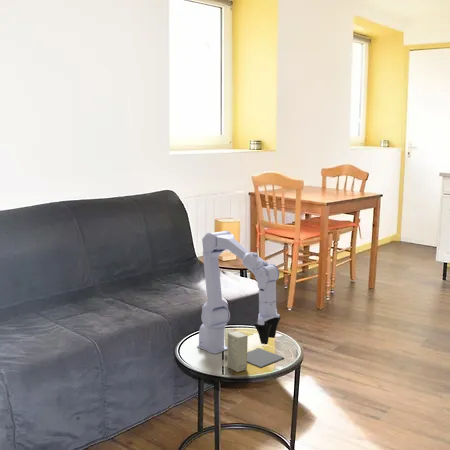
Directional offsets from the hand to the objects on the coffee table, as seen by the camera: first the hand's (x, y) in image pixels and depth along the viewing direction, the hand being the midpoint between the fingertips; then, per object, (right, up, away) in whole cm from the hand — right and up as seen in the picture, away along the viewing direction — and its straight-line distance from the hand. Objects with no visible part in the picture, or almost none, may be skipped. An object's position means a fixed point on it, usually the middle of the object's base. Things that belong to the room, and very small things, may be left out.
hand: (268, 340), depth 193 cm
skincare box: (-11, -10, +3) cm, 15 cm away
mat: (-2, -9, +12) cm, 15 cm away
